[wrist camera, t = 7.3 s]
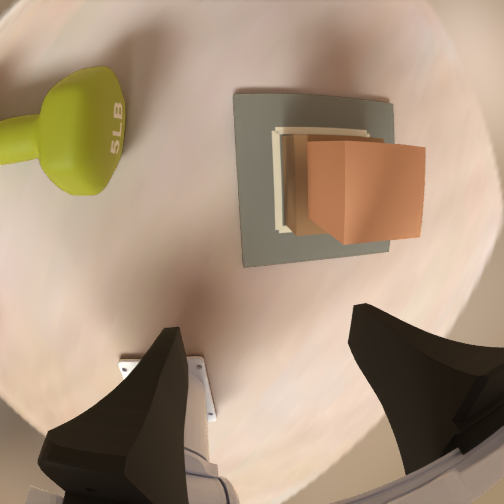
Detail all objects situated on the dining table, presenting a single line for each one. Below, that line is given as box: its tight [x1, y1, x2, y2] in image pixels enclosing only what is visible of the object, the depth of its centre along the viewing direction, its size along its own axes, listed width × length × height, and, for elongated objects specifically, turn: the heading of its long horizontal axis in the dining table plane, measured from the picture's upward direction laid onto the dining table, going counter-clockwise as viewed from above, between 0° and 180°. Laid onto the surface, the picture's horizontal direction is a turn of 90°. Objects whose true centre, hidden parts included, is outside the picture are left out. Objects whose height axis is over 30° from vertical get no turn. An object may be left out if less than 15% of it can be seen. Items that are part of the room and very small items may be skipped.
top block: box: [307, 141, 425, 245], centre depth 14 cm, size 4×4×5 cm
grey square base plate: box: [233, 93, 394, 268], centre depth 20 cm, size 12×12×1 cm
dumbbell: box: [0, 66, 126, 196], centre depth 12 cm, size 16×8×7 cm, turn 84°
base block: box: [282, 134, 384, 236], centre depth 18 cm, size 6×6×3 cm
